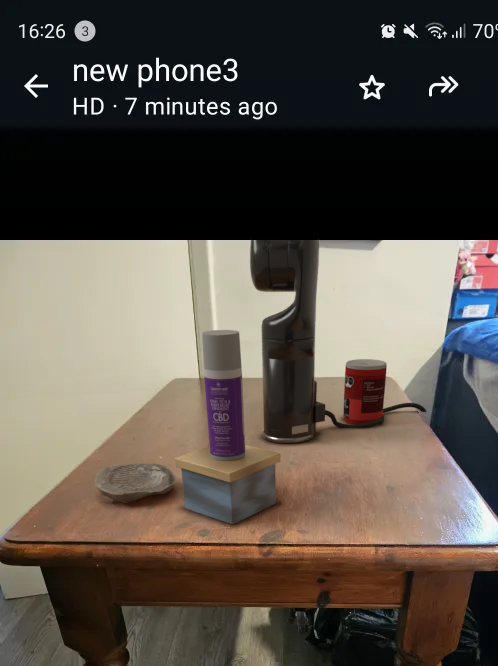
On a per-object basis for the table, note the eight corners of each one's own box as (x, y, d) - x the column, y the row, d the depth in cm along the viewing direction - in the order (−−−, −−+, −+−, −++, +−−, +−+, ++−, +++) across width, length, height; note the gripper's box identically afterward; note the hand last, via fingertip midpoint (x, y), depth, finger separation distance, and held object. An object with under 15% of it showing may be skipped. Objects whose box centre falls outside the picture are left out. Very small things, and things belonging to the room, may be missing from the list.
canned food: (350, 413, 122) (353, 358, 116) (387, 417, 119) (392, 360, 113) (337, 422, 116) (339, 364, 111) (375, 427, 113) (380, 367, 108)
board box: (229, 487, 87) (226, 439, 83) (281, 503, 82) (280, 452, 78) (179, 508, 81) (174, 457, 77) (232, 527, 75) (229, 473, 71)
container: (213, 462, 75) (204, 336, 67) (207, 451, 79) (198, 330, 71) (249, 458, 76) (244, 333, 68) (241, 448, 80) (235, 328, 72)
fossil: (182, 505, 83) (181, 487, 82) (99, 513, 80) (97, 495, 79) (170, 476, 91) (169, 459, 90) (94, 482, 88) (91, 464, 87)
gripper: (290, 15, 64) (290, 195, 72) (199, 42, 71) (209, 201, 80) (245, -2, 59) (251, 193, 67) (152, 28, 66) (168, 200, 75)
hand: (228, 197), depth 74 cm, fingers open, 8 cm apart
